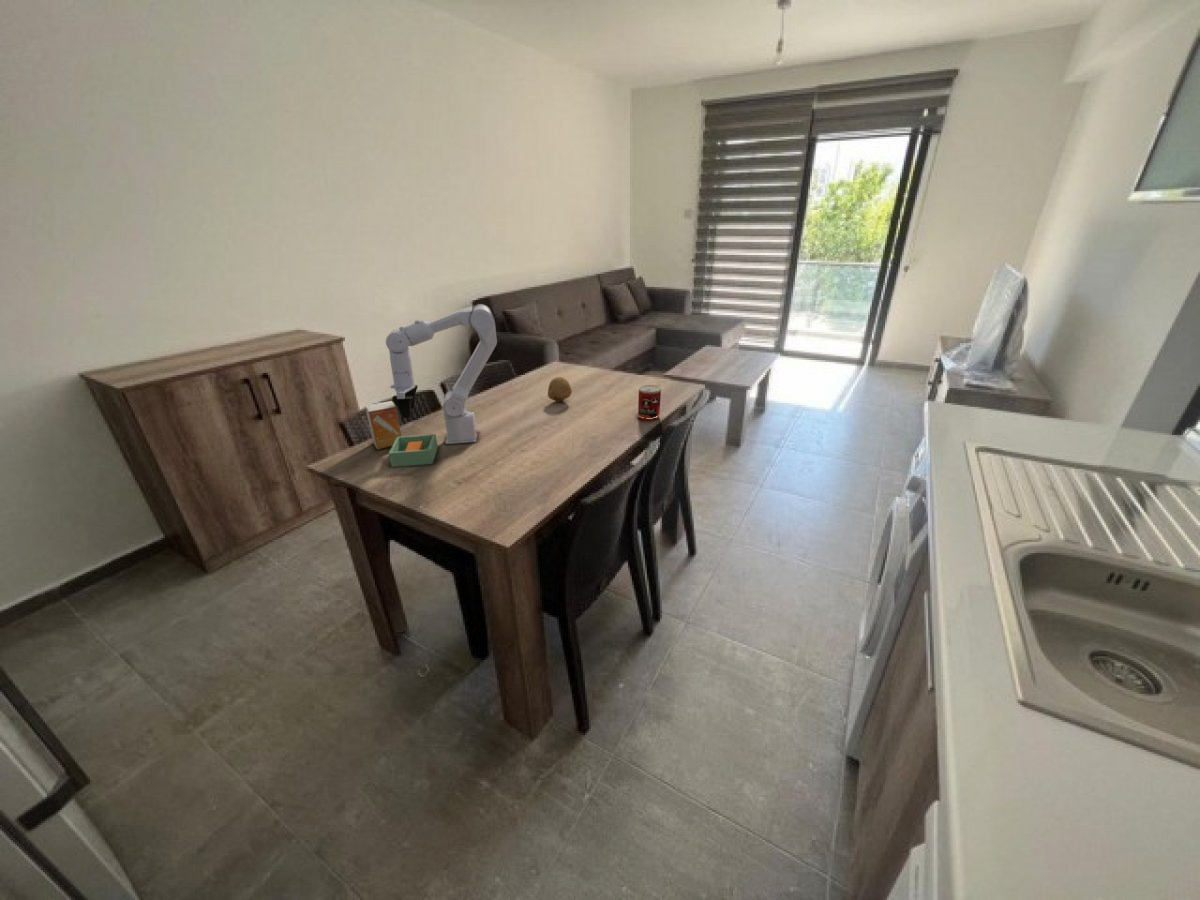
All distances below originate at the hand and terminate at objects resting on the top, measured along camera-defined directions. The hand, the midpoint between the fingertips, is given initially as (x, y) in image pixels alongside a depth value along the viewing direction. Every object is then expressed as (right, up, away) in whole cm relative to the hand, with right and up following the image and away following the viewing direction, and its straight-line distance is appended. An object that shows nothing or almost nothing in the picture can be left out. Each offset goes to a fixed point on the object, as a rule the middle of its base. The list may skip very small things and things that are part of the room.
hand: (408, 413), depth 150 cm
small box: (-8, -10, +4) cm, 13 cm away
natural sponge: (+45, +7, +38) cm, 59 cm away
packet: (+4, -13, -4) cm, 14 cm away
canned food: (+78, 0, +23) cm, 81 cm away
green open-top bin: (+4, -14, -4) cm, 15 cm away
